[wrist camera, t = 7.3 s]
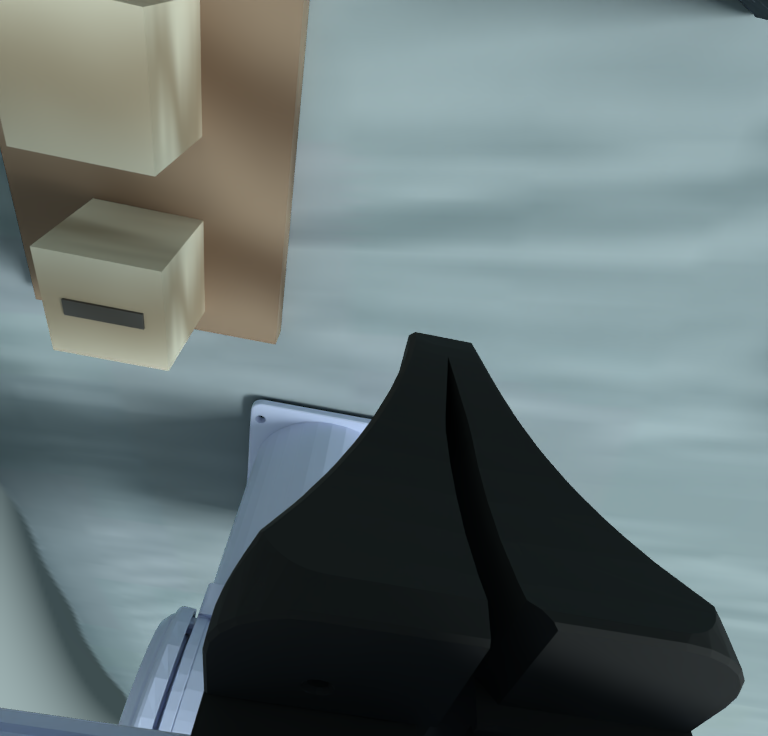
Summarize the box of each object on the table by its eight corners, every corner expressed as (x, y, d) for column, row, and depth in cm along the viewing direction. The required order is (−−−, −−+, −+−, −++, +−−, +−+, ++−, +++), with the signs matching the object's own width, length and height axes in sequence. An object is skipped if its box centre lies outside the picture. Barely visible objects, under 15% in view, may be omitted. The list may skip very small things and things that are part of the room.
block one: (204, 311, 23) (167, 372, 19) (106, 292, 22) (51, 351, 19) (203, 220, 20) (160, 273, 17) (92, 198, 20) (27, 247, 17)
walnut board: (280, 331, 24) (275, 344, 23) (49, 287, 24) (36, 299, 23) (345, -411, 12) (339, -436, 11) (-131, -546, 11) (-173, -582, 11)
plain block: (202, 136, 18) (155, 176, 15) (80, 110, 18) (6, 146, 15) (200, -6, 16) (143, 6, 13) (59, -38, 16) (-35, -34, 12)
